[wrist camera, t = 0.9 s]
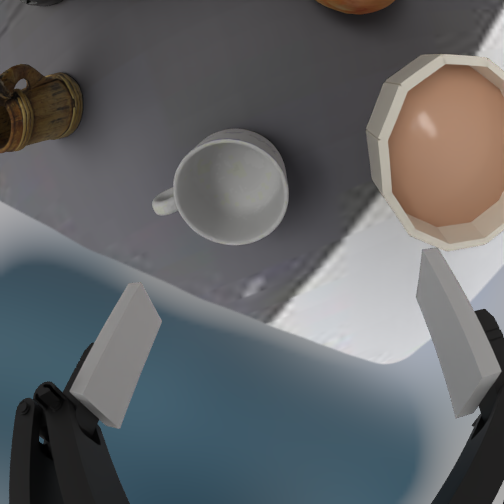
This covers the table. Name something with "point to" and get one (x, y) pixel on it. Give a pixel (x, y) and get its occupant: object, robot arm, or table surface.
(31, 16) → the table surface
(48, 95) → the wooden mug
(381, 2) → the onion
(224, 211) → the teacup
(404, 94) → the bowl
